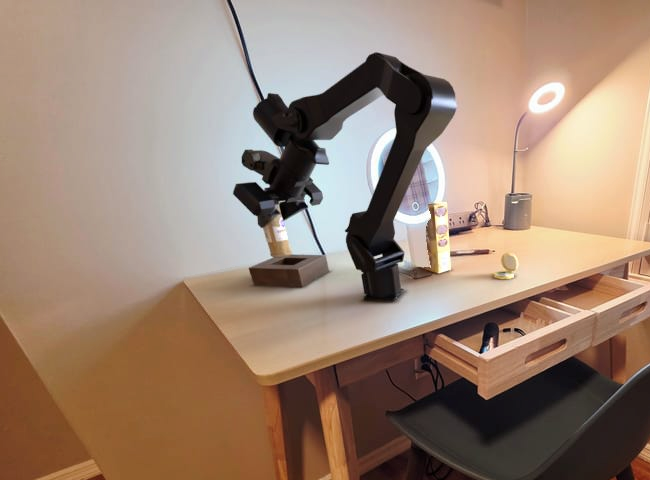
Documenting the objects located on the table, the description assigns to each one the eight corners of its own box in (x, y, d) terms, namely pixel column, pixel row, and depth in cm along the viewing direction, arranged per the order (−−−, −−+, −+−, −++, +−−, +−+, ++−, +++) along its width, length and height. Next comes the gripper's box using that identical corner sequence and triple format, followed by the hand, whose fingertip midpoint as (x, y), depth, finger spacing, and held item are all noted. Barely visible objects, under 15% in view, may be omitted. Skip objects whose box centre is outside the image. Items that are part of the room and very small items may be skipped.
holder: (329, 271, 91) (325, 255, 89) (302, 287, 81) (298, 269, 79) (285, 270, 93) (281, 254, 91) (253, 285, 83) (248, 267, 81)
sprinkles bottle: (291, 256, 82) (274, 190, 75) (269, 258, 81) (249, 191, 74) (293, 252, 86) (277, 188, 79) (271, 254, 85) (253, 189, 78)
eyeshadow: (490, 276, 85) (490, 255, 82) (503, 271, 88) (503, 250, 86) (506, 280, 82) (507, 258, 80) (518, 275, 86) (519, 253, 83)
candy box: (451, 270, 90) (448, 202, 82) (438, 274, 88) (434, 204, 80) (428, 263, 96) (423, 199, 88) (415, 267, 93) (409, 201, 85)
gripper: (299, 133, 78) (273, 191, 87) (221, 131, 63) (200, 201, 72) (337, 175, 80) (308, 227, 89) (271, 182, 65) (244, 244, 73)
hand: (268, 224), depth 81 cm, fingers closed on sprinkles bottle, 4 cm apart
